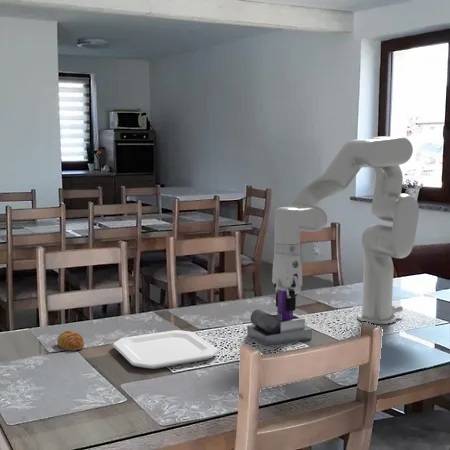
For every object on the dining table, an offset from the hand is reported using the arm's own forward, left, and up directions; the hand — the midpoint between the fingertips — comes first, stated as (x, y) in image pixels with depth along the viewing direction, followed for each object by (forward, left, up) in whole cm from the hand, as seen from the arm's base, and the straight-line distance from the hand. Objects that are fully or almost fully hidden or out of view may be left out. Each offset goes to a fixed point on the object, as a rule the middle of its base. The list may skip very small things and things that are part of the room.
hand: (285, 307), depth 185 cm
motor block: (+2, 0, -9) cm, 9 cm away
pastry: (+60, -19, -9) cm, 63 cm away
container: (0, 0, -5) cm, 5 cm away
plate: (+38, -2, -9) cm, 39 cm away
